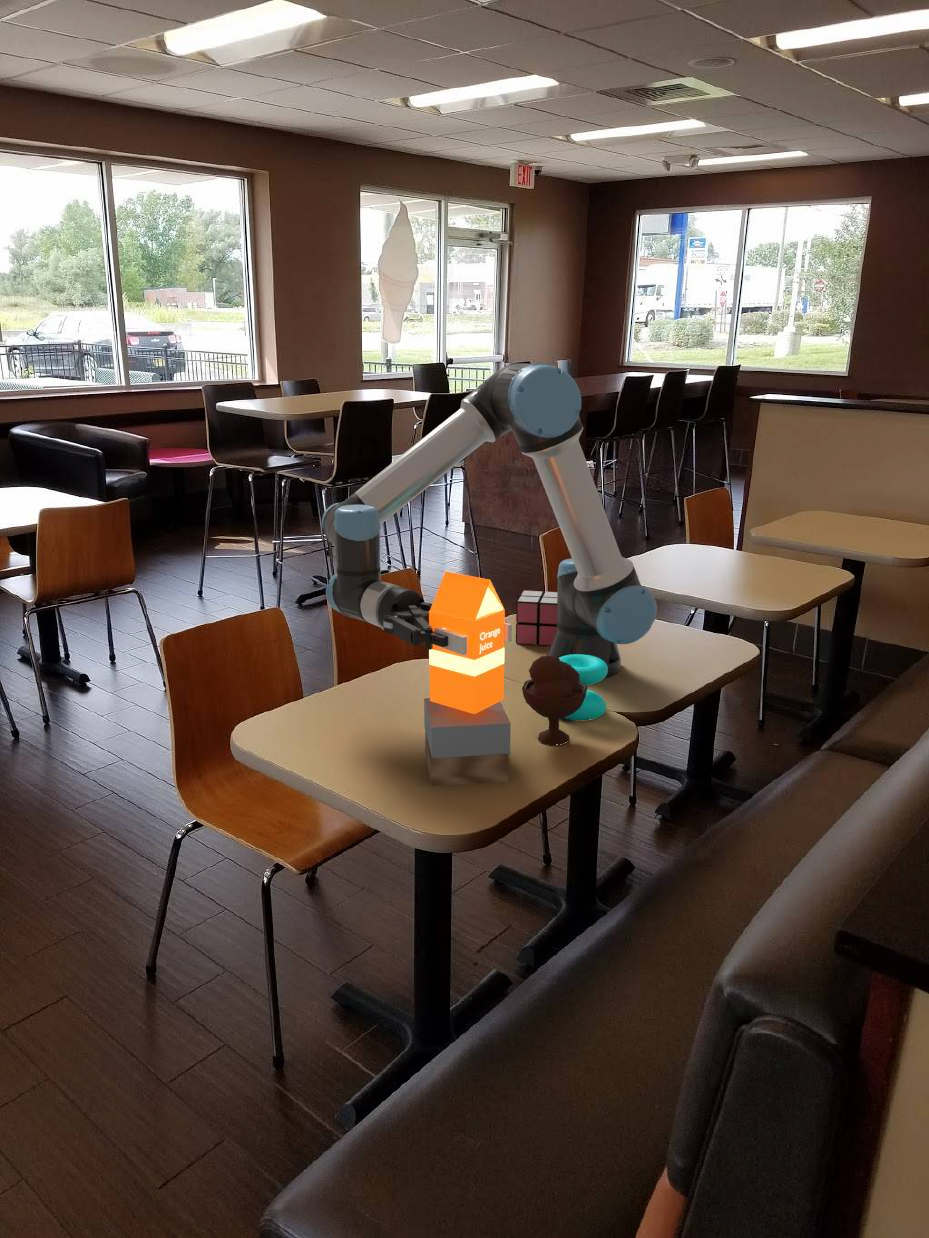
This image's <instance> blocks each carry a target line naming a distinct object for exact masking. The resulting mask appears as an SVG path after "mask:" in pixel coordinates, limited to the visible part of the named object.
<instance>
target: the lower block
mask: <svg viewBox="0 0 929 1238" xmlns="http://www.w3.org/2000/svg"><path fill="white" fill-rule="evenodd" d="M424 735H425V736H424V740H425V741H424V742H425V743H424V744H425V749H424V750H425V757H426V766H427V770H428V771H427V772H428V778H429V785H430V786H451V785H469V784H472V785H474V784H489V783H490V784H493V783H509V754H497V755H480V756H462V757H445V758H432V757H431V752H430V748H429V744H428V740H427V735H426V731H425V730H424Z"/></svg>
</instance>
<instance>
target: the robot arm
mask: <svg viewBox="0 0 929 1238" xmlns="http://www.w3.org/2000/svg"><path fill="white" fill-rule="evenodd" d="M459 407H460V408H459V409H458V410H456V411H455V412H454V413H453V414H452V415H450V416H448V418H446V419H445V420H444V421H443V422H441V423H440V424H439V425H438V426H436V427H435V428H434V429H432V431H430V432H429V433H428V434H426V435H425V436H424V437H422V438H421V440H419V441H417V442H416V443H415V444H414V445H413V446H412V447H410V448H409V449H408V450H406V451H405V452H404V453H403V454H401V455H400V456H399V457H398V458H396V459H395V460H394V461H392V462H391V463H390V464H389V465H388V466H386V467H385V468H384V469H383V470H382V471H380V472H379V473H377V474H376V475H375V476H374V477H373V478H371V479H370V480H368V482H366V483H365V484H363V486H361V487H360V488H359V489H358V490H355V492H354V493H353V494H351V495H350V496H348V497H347V498H346V499H345V500H344V501H342V502H337V503H333V504H331V505H330V506H328V507H327V508H326V510H325V511H324V512H323V515H322V518H321V527H322V529H323V533H324V535H325V537H326V539H327V540H328V541H329V543H331V544H332V545H333V547H334V549H335V559H336V573H335V574H333V575H332V576H331V578H330V579H329V580H328V583H327V587H326V589H325V597H326V601H327V603H328V605H329V606H330V607H331V608H332V609H333V610H334V611H336V612H338V613H341V614H342V615H343V616H345V617H347V618H351V619H356V620H359V621H362V622H365V623H368V624H370V625H373V626H376V627H379V628H381V630H383V632H384V633H387V634H392V635H394V636H396V637H397V638H398V639H400V640H403V641H404V642H406V643H408V644H409V645H411V646H413V647H417V648H418V647H420V646H421V644H422V643H423V644H424V649H425V650H428V651H429V650H431V649H433V644H434V645H436V646H439V647H441V648H444V649H447V650H450V651H453V652H455V653H458V654H461V655H466V654H467V636H464V635H461V634H458V633H455V632H452V631H449V630H446V629H443V628H440V627H436V628H434V631H433V628H432V627H431V626H429V611H430V609H431V607H432V604H433V603H431V602H425V600H424V598H423V597H422V596H421V594H420V593H419V592H418V591H415V590H412V589H409V588H405V587H403V586H400V585H398V584H393V583H390V582H386V581H382V579H381V574H382V573H381V539H380V538H381V537H380V535H381V533H380V530H381V525H382V524H383V523H384V522H386V521H387V520H389V518H392V517H393V515H395V514H396V513H397V512H398V511H399V510H401V509H402V508H404V507H405V506H406V505H407V504H409V503H410V502H412V500H414V499H415V498H416V497H417V496H419V495H420V494H421V493H423V492H424V491H425V490H426V489H427V488H429V487H430V486H432V484H434V483H435V482H436V481H438V480H439V479H440V478H442V477H443V476H444V475H446V474H447V473H448V472H449V471H450V470H452V469H453V468H454V467H456V465H458V464H459V463H461V461H463V460H464V459H465V458H467V456H469V455H471V454H472V453H473V452H474V451H475V450H477V449H478V448H479V447H480V446H481V445H483V444H484V443H486V442H489V443H495V442H496V441H497V440H498V439H499V438H500V437H502V436H503V435H505V434H507V433H508V432H511V431H512V433H513V436H514V437H515V440H516V442H517V445H518V447H519V450H520V453H521V454H522V455H524V456H527V457H529V458H531V459H532V460H533V462H534V465H535V468H536V470H537V472H538V475H539V478H540V480H541V482H542V486H543V488H544V491H545V493H546V496H547V498H548V501H549V503H550V506H551V508H552V509H551V510H552V511H553V514H554V516H555V519H556V521H557V524H558V527H559V528H560V529H559V530H560V531H561V534H562V536H563V538H564V541H565V544H566V546H567V548H568V552H569V554H570V557H571V558H566V559H563V560H562V561H560V562H559V564H558V570H557V576H556V579H557V588H556V589H557V591H556V592H557V630H556V633H555V636H554V639H553V641H552V644H551V646H549V647H550V648H549V650H548V653H547V655H549V656H555V657H557V658H560V657H562V656H566V655H572V654H583V655H590V656H594V657H597V658H600V659H601V660H603V661H604V662H605V663H606V665H607V667H608V673H607V675H606V677H605V678H607V677H611V676H614V675H616V674H618V673H619V672H620V671H621V664H622V661H621V660H622V658H621V654H620V652H619V651H620V650H619V647H618V645H629V644H632V643H635V642H637V641H639V640H640V639H642V638H643V637H645V636H646V635H647V634H648V633H649V631H650V630H651V628H652V626H653V623H654V622H655V621H656V617H657V613H658V612H657V611H658V610H657V609H658V607H657V601H656V599H655V597H654V595H653V594H652V593H651V592H650V591H649V589H648V588H647V587H645V586H642V585H641V581H640V579H639V576H638V573H637V571H636V568H635V566H634V563H633V561H632V560H631V559H629V558H625V557H623V555H622V554H621V552H620V549H619V546H618V544H617V541H616V538H615V535H614V532H613V529H612V526H611V525H610V522H609V519H608V517H607V514H606V511H605V509H604V506H603V503H602V501H601V497H600V495H599V492H598V489H597V487H596V484H595V481H594V478H593V476H592V474H591V471H590V468H589V465H588V463H587V459H586V457H585V454H584V451H583V449H582V446H581V444H580V436H581V435H582V432H583V430H584V426H583V423H582V421H581V418H580V412H581V410H582V395H581V391H580V388H579V386H578V384H577V382H576V381H575V379H574V378H573V377H572V376H571V375H570V374H569V373H568V372H567V371H565V370H564V369H562V368H560V367H559V366H555V365H554V364H549V363H544V362H538V363H537V362H536V363H528V362H526V363H525V362H514V363H511V364H508V365H505V366H504V367H502V368H500V369H498V370H497V371H495V372H494V373H493V374H492V375H490V376H489V377H488V378H487V379H485V380H484V381H483V382H482V383H481V384H480V385H479V386H477V387H476V388H474V389H473V391H471V392H470V393H468V395H466V396H465V397H464V398H462V399H461V402H460V406H459ZM512 627H513V624H512V623H508V622H505V624H504V636H503V641H504V642H506V643H510V642H512V639H513V638H512V635H513V631H512V630H513V628H512Z"/></svg>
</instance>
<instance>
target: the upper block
mask: <svg viewBox="0 0 929 1238" xmlns="http://www.w3.org/2000/svg"><path fill="white" fill-rule="evenodd" d="M423 701H424V703H423V708H424V710H423V712H424V715H423V716H424V717H423V719H424V732H425V731H426V735H427V740H428V744H429V748H430V752H431V757H432V758H445V757H462V756H480V755H497V754H511V725H512V724H511V721H510V719H509V717H508V715H507V712H506V710H505V709H504V706H503V704H502V701H500V702H498V703H496V704H494V705H492V706H490V707H488V708H486V709H484V710H482V711H480V712H478V713H476V714H472V713H469V712H465V711H462V710H459V709H455V708H452V707H449V706H445V705H442V704H439V703H435V702H432V701H430V697H429V698H428V697H427V698H424V699H423Z"/></svg>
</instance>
